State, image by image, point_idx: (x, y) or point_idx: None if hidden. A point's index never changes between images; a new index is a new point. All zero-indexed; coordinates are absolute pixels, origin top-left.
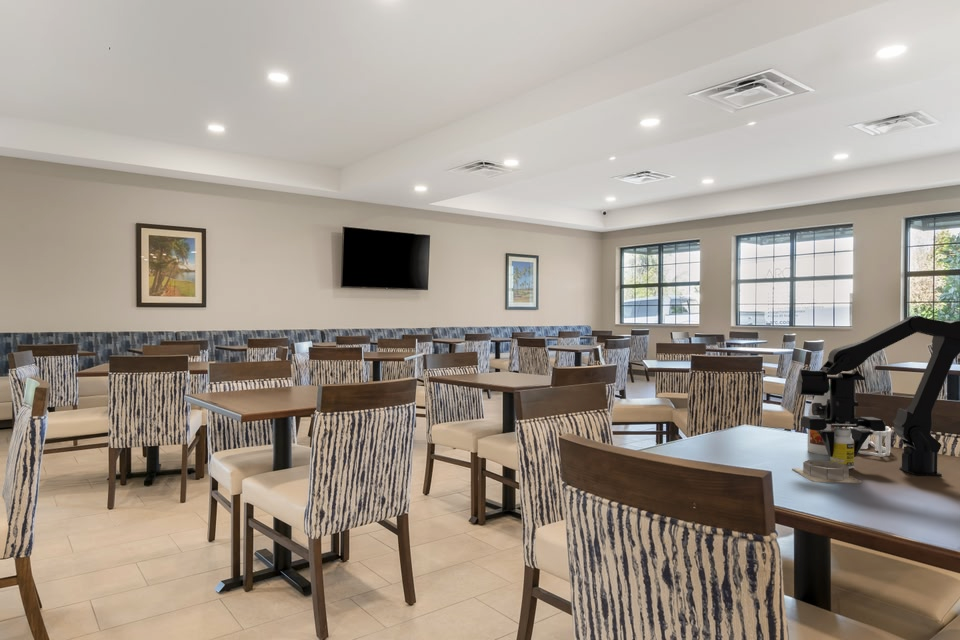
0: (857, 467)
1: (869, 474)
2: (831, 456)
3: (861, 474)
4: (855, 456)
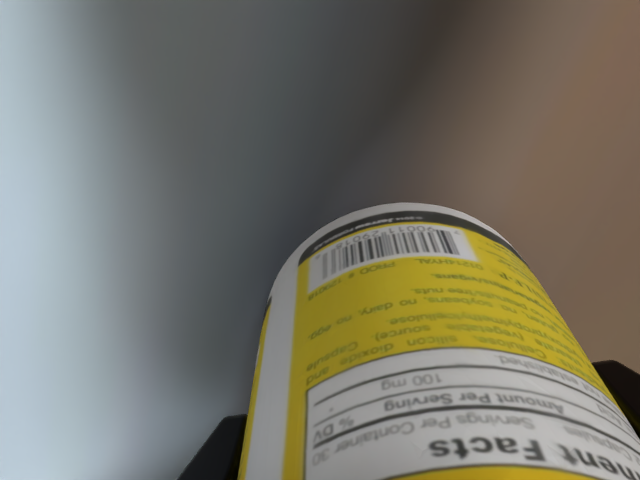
0: (628, 198)
1: None
2: None
3: None
4: None
